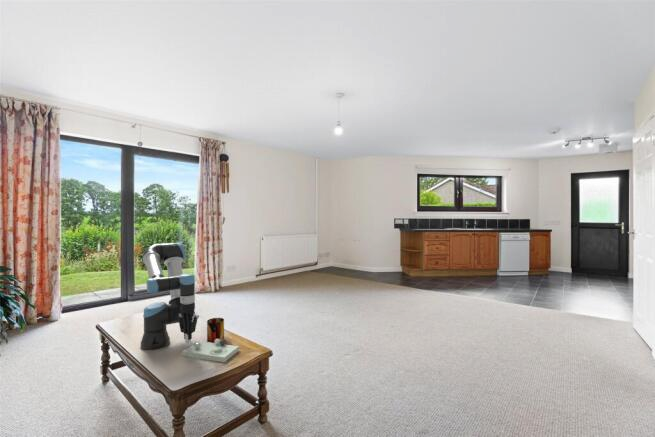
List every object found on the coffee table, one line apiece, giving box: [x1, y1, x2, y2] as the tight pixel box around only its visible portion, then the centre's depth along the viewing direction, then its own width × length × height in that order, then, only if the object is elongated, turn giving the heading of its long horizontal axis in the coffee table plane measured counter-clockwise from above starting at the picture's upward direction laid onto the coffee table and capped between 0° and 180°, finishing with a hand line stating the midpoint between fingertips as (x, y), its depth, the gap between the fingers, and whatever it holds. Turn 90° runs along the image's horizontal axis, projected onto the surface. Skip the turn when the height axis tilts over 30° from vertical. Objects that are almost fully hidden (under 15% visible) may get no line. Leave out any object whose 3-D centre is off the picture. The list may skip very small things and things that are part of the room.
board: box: [181, 340, 240, 363], centre depth 179 cm, size 26×14×2 cm, turn 74°
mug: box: [206, 317, 225, 343], centre depth 195 cm, size 10×14×12 cm
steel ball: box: [194, 342, 201, 349], centre depth 178 cm, size 3×3×3 cm
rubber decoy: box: [220, 339, 227, 346], centre depth 183 cm, size 3×3×3 cm
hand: (188, 345), depth 180 cm, fingers closed
